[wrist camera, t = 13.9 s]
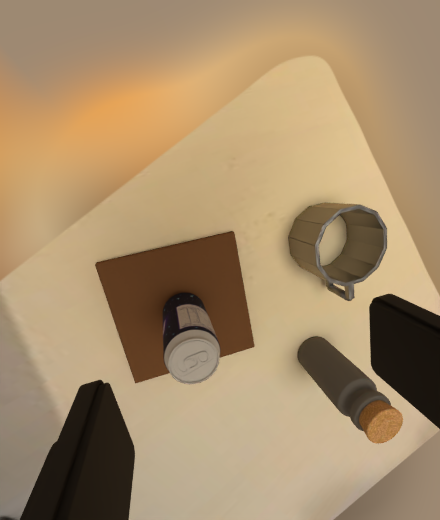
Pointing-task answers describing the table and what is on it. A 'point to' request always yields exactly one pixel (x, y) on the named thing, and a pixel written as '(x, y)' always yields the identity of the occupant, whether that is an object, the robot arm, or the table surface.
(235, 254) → the mat
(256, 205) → the table surface
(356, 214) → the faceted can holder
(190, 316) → the beverage can
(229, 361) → the table surface
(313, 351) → the bottle
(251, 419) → the table surface
